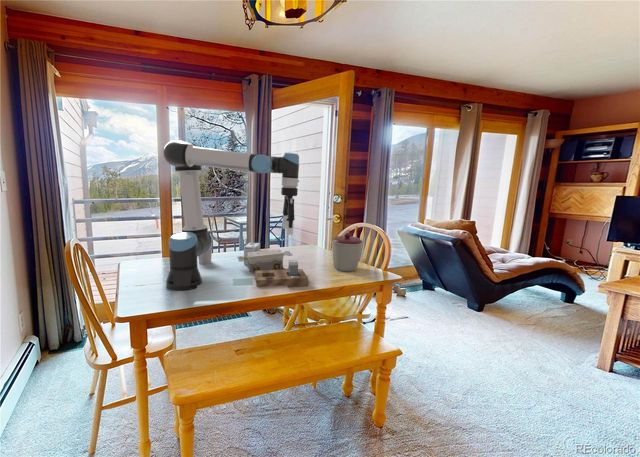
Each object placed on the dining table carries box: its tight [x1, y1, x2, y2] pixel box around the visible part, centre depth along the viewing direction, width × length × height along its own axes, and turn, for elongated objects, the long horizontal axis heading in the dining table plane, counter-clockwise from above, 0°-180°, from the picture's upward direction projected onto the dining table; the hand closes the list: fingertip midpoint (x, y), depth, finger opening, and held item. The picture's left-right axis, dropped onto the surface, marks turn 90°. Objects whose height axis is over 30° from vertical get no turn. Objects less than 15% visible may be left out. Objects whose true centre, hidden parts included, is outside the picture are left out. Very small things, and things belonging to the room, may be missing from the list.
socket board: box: [254, 268, 309, 288], centre depth 158 cm, size 24×14×4 cm, turn 104°
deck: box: [232, 277, 254, 287], centre depth 154 cm, size 9×9×1 cm
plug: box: [287, 259, 299, 276], centre depth 159 cm, size 4×4×10 cm
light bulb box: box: [243, 242, 261, 266], centre depth 187 cm, size 11×7×11 cm, turn 175°
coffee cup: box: [197, 235, 215, 265], centre depth 183 cm, size 10×10×15 cm
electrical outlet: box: [236, 248, 294, 273], centre depth 175 cm, size 12×28×10 cm, turn 110°
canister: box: [330, 232, 364, 272], centre depth 183 cm, size 18×18×21 cm
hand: (287, 231), depth 156 cm, fingers open, 13 cm apart
